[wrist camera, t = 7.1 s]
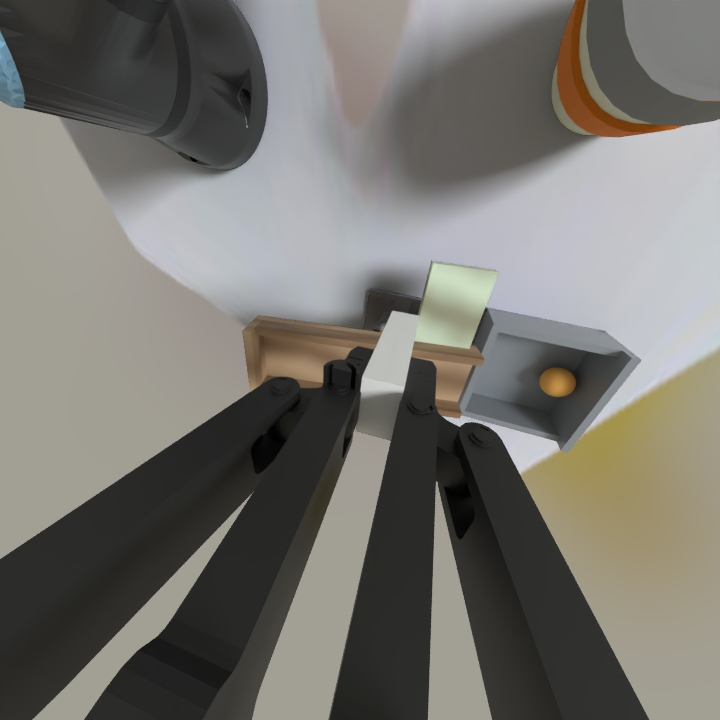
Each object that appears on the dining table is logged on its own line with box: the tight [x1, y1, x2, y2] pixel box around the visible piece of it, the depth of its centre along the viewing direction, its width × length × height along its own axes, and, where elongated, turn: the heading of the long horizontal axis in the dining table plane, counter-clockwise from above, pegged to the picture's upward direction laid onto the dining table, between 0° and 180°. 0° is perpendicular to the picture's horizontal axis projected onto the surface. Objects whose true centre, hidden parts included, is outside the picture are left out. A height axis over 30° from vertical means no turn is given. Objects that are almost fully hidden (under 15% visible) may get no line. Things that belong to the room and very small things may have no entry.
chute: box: [242, 261, 499, 418], centre depth 28 cm, size 17×24×5 cm
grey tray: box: [458, 308, 641, 452], centre depth 32 cm, size 13×13×7 cm
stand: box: [364, 288, 422, 332], centre depth 35 cm, size 12×8×7 cm, turn 173°
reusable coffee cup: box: [552, 0, 720, 137], centre depth 15 cm, size 13×12×15 cm
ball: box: [539, 367, 576, 397], centre depth 32 cm, size 4×4×4 cm
